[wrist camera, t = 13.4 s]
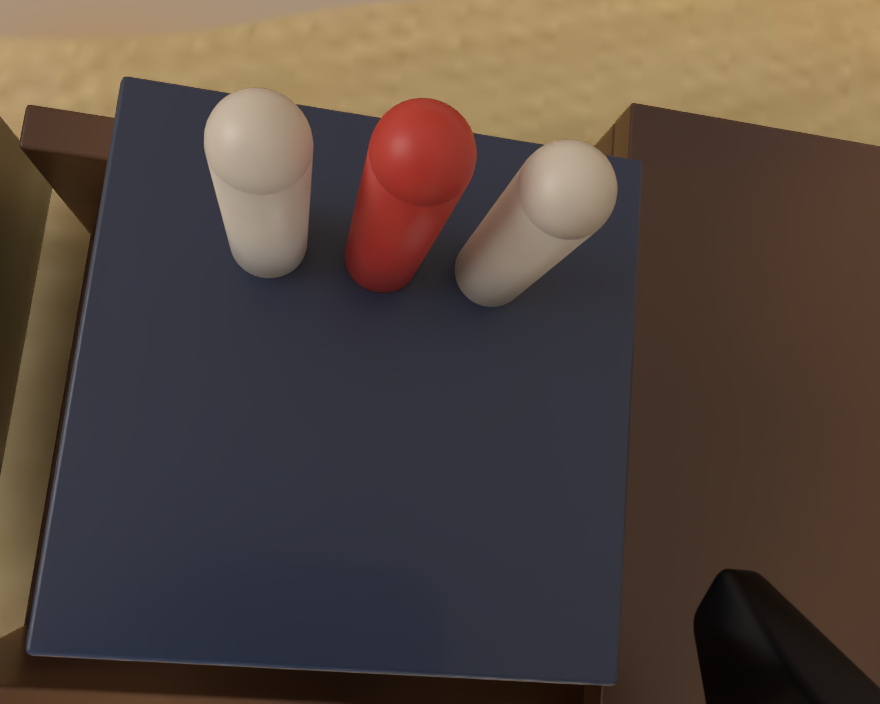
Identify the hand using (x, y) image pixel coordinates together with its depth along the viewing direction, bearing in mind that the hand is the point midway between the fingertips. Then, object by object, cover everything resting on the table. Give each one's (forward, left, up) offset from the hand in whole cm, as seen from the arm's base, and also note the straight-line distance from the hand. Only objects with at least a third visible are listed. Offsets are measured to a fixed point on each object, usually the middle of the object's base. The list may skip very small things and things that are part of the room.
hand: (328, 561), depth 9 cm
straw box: (+1, -2, -10) cm, 10 cm away
